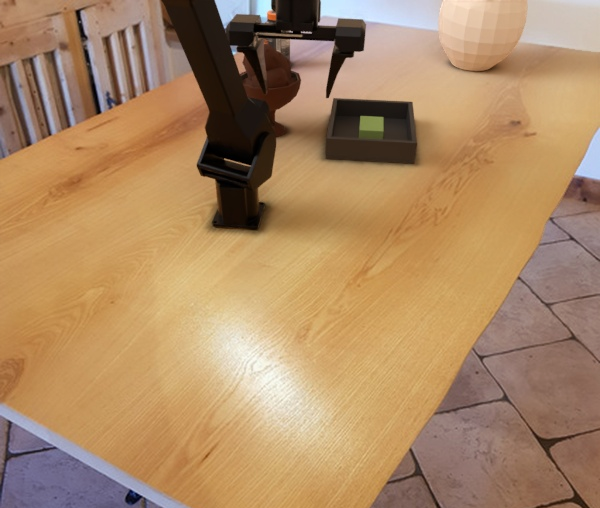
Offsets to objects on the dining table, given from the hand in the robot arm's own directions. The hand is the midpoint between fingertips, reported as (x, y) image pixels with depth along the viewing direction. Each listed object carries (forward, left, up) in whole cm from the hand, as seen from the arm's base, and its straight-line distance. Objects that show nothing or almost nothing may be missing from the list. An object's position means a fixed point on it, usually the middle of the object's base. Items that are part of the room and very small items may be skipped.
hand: (296, 95), depth 81 cm
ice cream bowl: (+14, +6, -12) cm, 19 cm away
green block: (+11, -12, -11) cm, 20 cm away
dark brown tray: (+13, -12, -12) cm, 21 cm away
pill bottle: (+50, +10, -12) cm, 52 cm away
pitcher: (+56, -35, -12) cm, 67 cm away
